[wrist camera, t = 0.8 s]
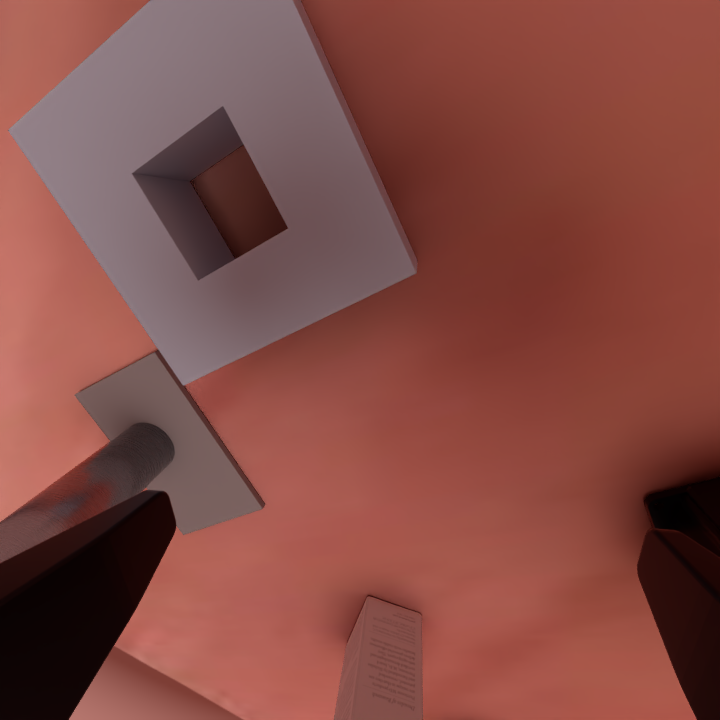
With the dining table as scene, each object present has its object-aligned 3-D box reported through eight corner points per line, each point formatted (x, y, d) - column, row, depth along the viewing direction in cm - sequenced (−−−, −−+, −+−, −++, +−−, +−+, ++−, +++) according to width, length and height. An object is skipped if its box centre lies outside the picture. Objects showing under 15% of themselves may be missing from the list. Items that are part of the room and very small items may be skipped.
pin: (184, 458, 24) (-29, 679, 13) (147, 473, 25) (-83, 692, 14) (153, 415, 23) (-106, 611, 12) (115, 432, 24) (-159, 629, 13)
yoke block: (417, 260, 18) (416, 273, 14) (224, 356, 22) (183, 385, 18) (292, -18, 15) (251, -92, 11) (90, 146, 19) (8, 130, 15)
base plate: (264, 504, 25) (262, 508, 25) (186, 530, 27) (183, 534, 27) (158, 349, 22) (154, 352, 22) (79, 392, 24) (74, 394, 24)
